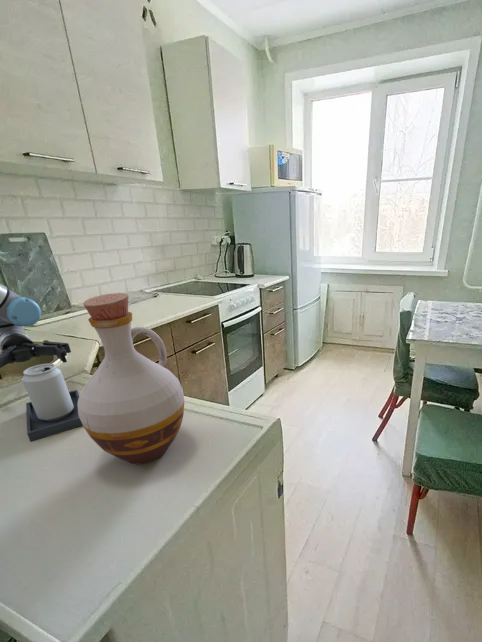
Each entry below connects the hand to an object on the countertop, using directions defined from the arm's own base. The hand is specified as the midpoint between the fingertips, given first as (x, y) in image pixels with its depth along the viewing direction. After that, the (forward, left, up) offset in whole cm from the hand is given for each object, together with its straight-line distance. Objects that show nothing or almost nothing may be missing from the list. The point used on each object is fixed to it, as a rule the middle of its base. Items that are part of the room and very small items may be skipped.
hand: (32, 365), depth 85 cm
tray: (+6, -8, -11) cm, 14 cm away
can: (+6, -8, -10) cm, 14 cm away
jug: (+30, -26, -11) cm, 41 cm away
